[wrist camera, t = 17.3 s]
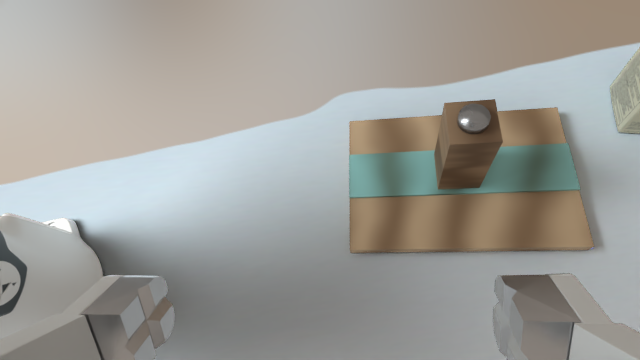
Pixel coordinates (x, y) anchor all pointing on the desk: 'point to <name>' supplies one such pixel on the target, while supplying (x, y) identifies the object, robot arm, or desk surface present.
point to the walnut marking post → (466, 143)
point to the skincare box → (627, 96)
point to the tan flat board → (464, 190)
